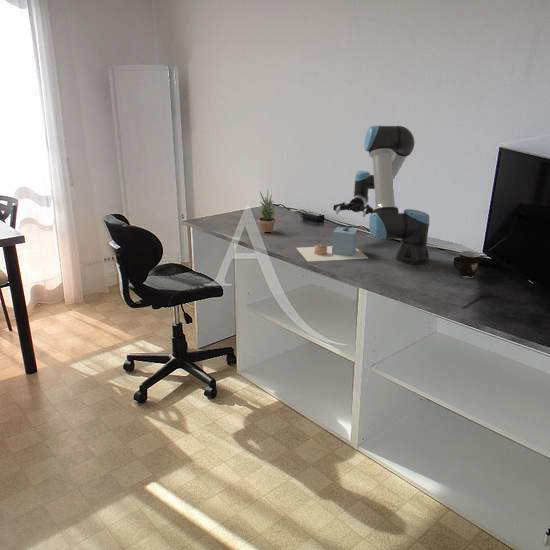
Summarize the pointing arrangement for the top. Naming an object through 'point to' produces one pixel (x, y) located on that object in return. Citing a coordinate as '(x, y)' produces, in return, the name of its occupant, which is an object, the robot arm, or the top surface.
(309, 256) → the mat
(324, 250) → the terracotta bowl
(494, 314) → the top surface
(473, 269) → the coffee mug
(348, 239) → the box cover
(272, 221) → the potted plant
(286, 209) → the top surface
